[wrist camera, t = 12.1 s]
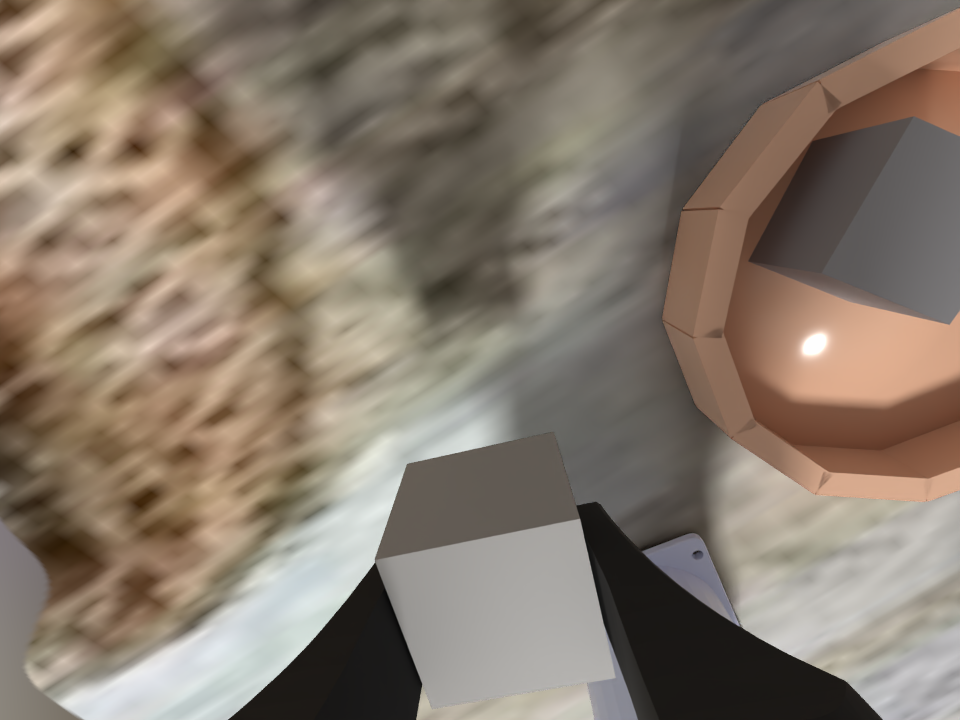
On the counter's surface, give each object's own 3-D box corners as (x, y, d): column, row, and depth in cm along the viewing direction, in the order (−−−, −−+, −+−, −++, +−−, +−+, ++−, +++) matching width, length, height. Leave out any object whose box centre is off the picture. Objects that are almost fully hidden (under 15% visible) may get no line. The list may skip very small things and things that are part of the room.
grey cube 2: (553, 431, 13) (580, 518, 9) (582, 555, 14) (615, 678, 10) (407, 463, 13) (374, 560, 10) (447, 582, 15) (432, 708, 11)
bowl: (1115, 367, 19) (1227, 393, 16) (736, 511, 21) (775, 556, 18) (1069, -54, 15) (1208, -120, 12) (607, 182, 17) (631, 176, 14)
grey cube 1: (920, 187, 16) (1052, 177, 12) (849, 302, 18) (949, 325, 14) (812, 141, 16) (914, 116, 12) (747, 261, 17) (821, 273, 13)
